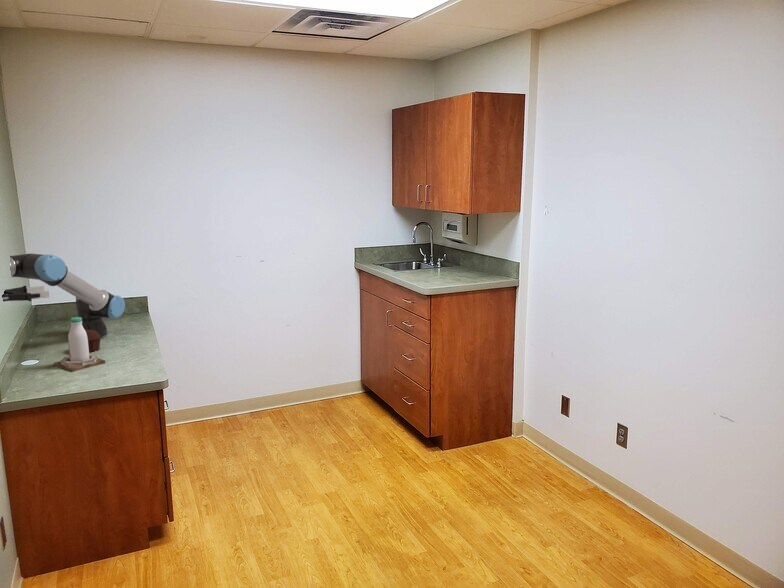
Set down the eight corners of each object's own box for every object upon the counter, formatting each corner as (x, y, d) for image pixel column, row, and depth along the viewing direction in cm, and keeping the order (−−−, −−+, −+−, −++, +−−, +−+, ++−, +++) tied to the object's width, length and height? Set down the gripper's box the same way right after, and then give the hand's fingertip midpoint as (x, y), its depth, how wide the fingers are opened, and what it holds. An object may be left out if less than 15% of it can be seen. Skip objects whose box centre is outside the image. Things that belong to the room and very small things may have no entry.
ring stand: (86, 357, 281) (86, 351, 281) (105, 362, 273) (104, 356, 273) (53, 365, 269) (53, 359, 268) (72, 371, 261) (71, 365, 260)
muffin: (103, 352, 289) (101, 331, 287) (77, 355, 284) (75, 334, 282) (100, 346, 299) (98, 326, 297) (75, 349, 294) (73, 329, 292)
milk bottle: (93, 359, 273) (89, 316, 269) (79, 364, 266) (75, 320, 262) (80, 358, 276) (76, 315, 272) (66, 363, 269) (61, 319, 265)
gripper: (-14, 300, 258) (43, 295, 270) (-10, 311, 238) (51, 305, 250) (-16, 283, 256) (41, 278, 269) (-12, 292, 236) (49, 287, 249)
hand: (46, 291), depth 259 cm, fingers open, 13 cm apart
